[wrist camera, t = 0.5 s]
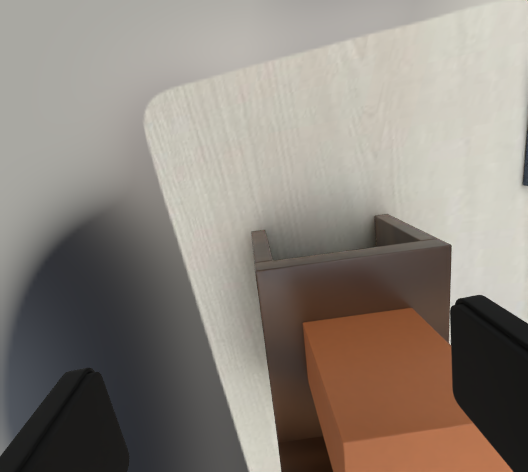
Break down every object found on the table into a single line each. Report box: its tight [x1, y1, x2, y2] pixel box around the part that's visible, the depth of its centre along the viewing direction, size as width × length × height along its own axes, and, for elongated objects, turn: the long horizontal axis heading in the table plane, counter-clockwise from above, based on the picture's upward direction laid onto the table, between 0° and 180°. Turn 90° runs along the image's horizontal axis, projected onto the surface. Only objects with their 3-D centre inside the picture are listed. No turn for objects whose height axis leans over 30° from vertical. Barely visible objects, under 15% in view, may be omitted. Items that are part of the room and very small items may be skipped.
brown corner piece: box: [251, 214, 452, 472], centre depth 24 cm, size 14×12×16 cm
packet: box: [303, 308, 513, 472], centre depth 18 cm, size 7×4×9 cm, turn 97°
